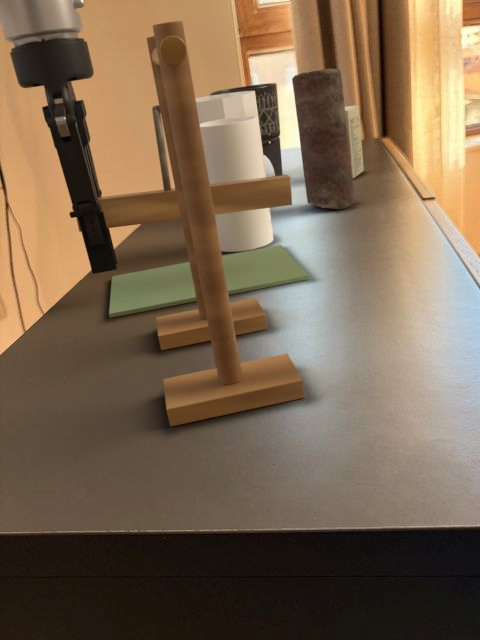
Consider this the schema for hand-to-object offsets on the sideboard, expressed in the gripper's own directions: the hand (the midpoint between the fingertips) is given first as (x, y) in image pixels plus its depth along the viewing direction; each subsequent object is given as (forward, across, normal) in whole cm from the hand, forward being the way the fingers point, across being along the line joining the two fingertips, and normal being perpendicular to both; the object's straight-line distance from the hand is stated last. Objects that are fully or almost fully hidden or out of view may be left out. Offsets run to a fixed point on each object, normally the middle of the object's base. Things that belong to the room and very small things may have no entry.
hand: (105, 267), depth 73 cm
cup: (+4, +13, -18) cm, 22 cm away
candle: (+4, +25, -34) cm, 42 cm away
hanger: (-4, 0, -10) cm, 11 cm away
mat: (+4, 0, -11) cm, 11 cm away
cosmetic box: (+4, +47, -44) cm, 64 cm away
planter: (+4, +58, -28) cm, 65 cm away
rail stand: (+4, -23, -10) cm, 25 cm away
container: (+4, +35, -19) cm, 40 cm away
